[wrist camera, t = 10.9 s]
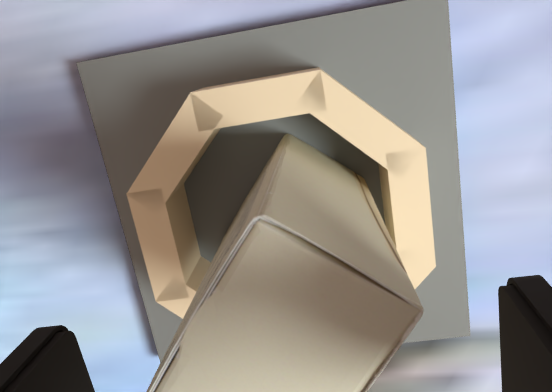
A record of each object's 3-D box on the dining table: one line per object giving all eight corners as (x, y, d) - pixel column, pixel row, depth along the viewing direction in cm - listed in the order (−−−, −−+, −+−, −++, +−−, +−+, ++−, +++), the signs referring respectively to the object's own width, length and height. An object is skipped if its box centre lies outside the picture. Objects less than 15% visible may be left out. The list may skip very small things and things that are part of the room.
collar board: (440, -5, 20) (472, -18, 16) (464, 324, 24) (492, 375, 21) (86, 62, 22) (39, 64, 18) (167, 357, 26) (143, 409, 22)
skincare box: (297, 280, 23) (286, 507, 12) (218, 236, 23) (125, 425, 11) (368, 173, 21) (438, 315, 10) (284, 123, 21) (253, 210, 9)
